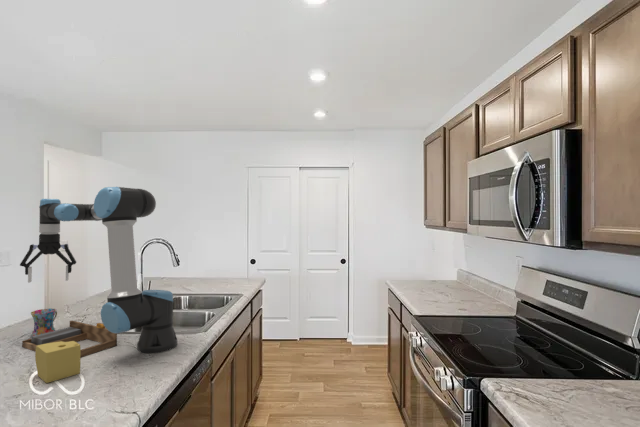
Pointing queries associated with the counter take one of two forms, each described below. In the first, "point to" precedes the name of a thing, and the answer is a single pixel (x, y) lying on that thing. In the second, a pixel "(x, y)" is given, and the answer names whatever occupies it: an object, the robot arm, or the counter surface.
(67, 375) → the cheese
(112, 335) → the rack
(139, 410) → the counter surface
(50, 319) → the mug
